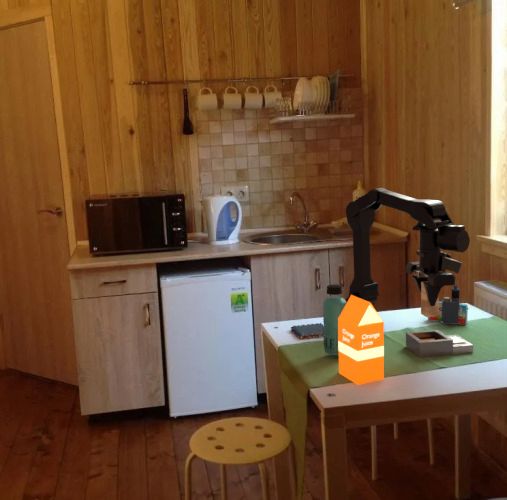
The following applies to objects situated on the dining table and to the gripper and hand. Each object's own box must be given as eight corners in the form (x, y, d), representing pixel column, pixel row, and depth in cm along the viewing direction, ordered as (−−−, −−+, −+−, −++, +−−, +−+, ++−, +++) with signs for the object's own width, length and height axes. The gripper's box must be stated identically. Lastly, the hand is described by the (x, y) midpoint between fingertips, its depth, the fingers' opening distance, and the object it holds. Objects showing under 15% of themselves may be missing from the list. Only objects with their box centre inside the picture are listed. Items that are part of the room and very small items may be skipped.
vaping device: (459, 324, 195) (460, 286, 192) (442, 324, 195) (442, 286, 193) (458, 321, 197) (459, 284, 195) (441, 321, 198) (441, 284, 196)
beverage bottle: (350, 354, 173) (349, 283, 169) (343, 362, 167) (342, 288, 163) (328, 351, 176) (326, 281, 172) (320, 359, 170) (318, 287, 166)
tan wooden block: (426, 317, 170) (426, 284, 169) (420, 313, 174) (421, 281, 172) (438, 316, 171) (439, 283, 169) (432, 312, 174) (433, 280, 173)
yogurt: (427, 320, 201) (427, 301, 200) (429, 318, 202) (429, 300, 201) (465, 325, 194) (466, 305, 193) (467, 323, 195) (467, 304, 194)
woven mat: (333, 337, 189) (333, 331, 188) (299, 341, 187) (299, 335, 186) (322, 328, 199) (322, 321, 198) (290, 331, 197) (289, 325, 196)
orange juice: (357, 385, 152) (356, 304, 148) (338, 373, 160) (337, 296, 156) (384, 379, 155) (384, 300, 151) (364, 367, 163) (363, 292, 159)
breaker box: (420, 357, 168) (420, 343, 167) (405, 346, 177) (405, 332, 177) (473, 352, 171) (473, 337, 170) (456, 341, 180) (456, 327, 179)
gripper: (475, 251, 161) (474, 310, 164) (442, 240, 179) (441, 293, 182) (434, 254, 159) (433, 314, 162) (405, 243, 178) (405, 296, 180)
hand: (429, 304), depth 172 cm, fingers closed on tan wooden block, 3 cm apart
